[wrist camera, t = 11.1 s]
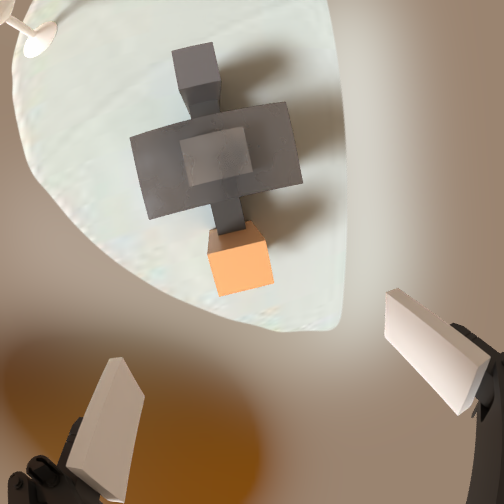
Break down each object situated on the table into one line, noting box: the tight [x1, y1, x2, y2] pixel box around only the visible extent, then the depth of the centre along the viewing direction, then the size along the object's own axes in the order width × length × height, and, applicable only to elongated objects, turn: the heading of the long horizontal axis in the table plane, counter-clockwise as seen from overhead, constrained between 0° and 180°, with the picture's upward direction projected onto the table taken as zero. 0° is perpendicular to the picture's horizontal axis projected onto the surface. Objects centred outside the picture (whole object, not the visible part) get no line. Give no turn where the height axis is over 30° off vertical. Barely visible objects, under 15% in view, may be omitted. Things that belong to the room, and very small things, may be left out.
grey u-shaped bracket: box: [130, 102, 303, 220], centre depth 23 cm, size 6×11×15 cm, turn 102°
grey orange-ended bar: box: [172, 42, 274, 297], centre depth 26 cm, size 24×5×10 cm, turn 12°
